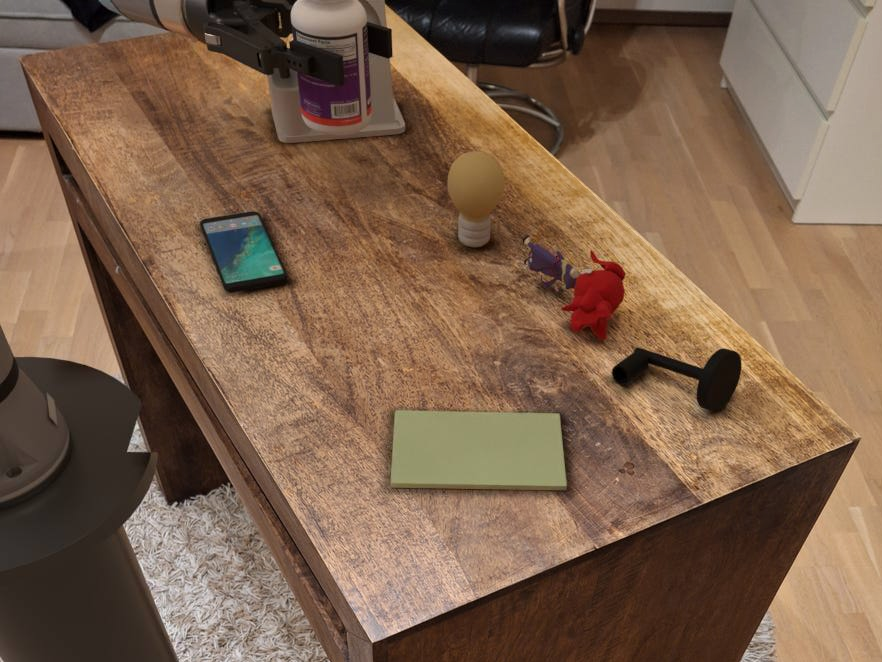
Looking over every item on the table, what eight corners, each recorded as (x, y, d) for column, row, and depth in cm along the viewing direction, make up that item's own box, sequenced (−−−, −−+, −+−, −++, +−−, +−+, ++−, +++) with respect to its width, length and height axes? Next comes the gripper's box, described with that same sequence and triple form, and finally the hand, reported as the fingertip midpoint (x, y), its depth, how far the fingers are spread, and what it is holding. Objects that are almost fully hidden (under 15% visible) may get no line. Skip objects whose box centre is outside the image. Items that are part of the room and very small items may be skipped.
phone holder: (276, 144, 118) (254, -18, 103) (268, 108, 123) (245, -50, 109) (407, 133, 121) (402, -26, 106) (392, 99, 126) (386, -56, 112)
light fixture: (576, 423, 91) (653, 365, 96) (662, 457, 85) (739, 394, 91) (573, 370, 87) (654, 313, 92) (664, 403, 81) (744, 340, 86)
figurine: (547, 257, 103) (647, 317, 97) (495, 299, 101) (595, 363, 95) (544, 208, 97) (651, 269, 92) (489, 252, 95) (595, 317, 90)
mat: (390, 487, 82) (390, 483, 81) (395, 414, 87) (395, 409, 87) (566, 490, 82) (567, 485, 82) (559, 418, 88) (559, 413, 88)
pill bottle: (329, 101, 108) (317, -44, 96) (385, 119, 105) (380, -27, 94) (288, 127, 103) (270, -22, 92) (345, 146, 101) (334, -3, 90)
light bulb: (506, 231, 107) (511, 145, 99) (494, 260, 104) (499, 173, 96) (454, 223, 108) (455, 137, 100) (440, 251, 104) (441, 164, 96)
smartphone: (258, 209, 107) (289, 278, 99) (259, 215, 107) (290, 284, 99) (197, 218, 105) (224, 289, 97) (199, 225, 106) (225, 295, 97)
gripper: (269, 14, 112) (421, 63, 105) (148, 72, 101) (309, 130, 94) (260, -59, 105) (420, -13, 99) (130, -6, 95) (300, 50, 88)
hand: (366, 57), depth 97 cm, fingers closed on pill bottle, 8 cm apart
